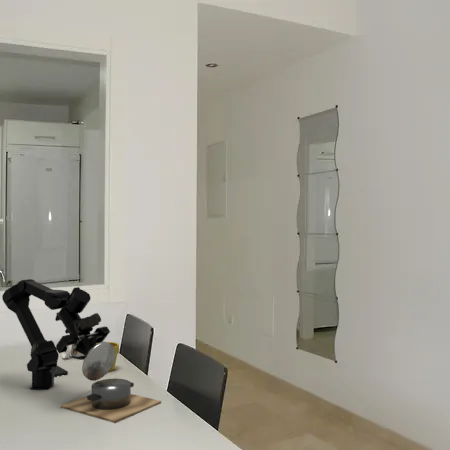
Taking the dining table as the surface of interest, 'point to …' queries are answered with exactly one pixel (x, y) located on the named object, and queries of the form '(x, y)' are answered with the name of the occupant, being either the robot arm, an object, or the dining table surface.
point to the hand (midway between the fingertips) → (96, 359)
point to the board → (114, 415)
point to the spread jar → (72, 353)
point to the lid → (98, 361)
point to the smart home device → (59, 371)
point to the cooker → (111, 394)
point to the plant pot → (116, 347)
